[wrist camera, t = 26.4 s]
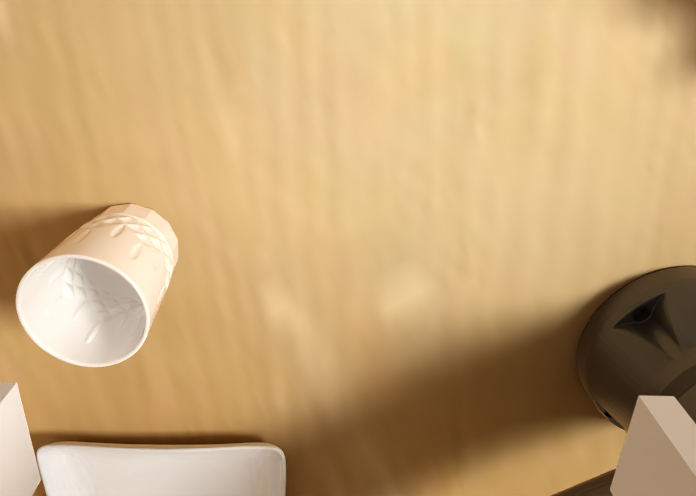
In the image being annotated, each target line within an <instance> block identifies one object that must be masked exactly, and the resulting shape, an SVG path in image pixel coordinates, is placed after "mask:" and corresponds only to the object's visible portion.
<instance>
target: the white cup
mask: <svg viewBox="0 0 696 496" xmlns="http://www.w3.org/2000/svg"><path fill="white" fill-rule="evenodd" d="M177 261H178V239H177V237H176V235H175V233H174V232H173V230H172V228H171V226H170V224H169V223H168V222H167V221H166V220H165V219H163V218H162V217H161V216H160V215H159V214H157V213H156V212H155V211H154V210H152V209H149V208H145V207H142V206H139V205H135V204H124V205H115V206H111V207H109V208H108V209H106V210H105V211H103V212H102V213H100V214H99V215H97V216H96V217H94V218H93V219H92V220H91V221H88V222H87V223H85V224H84V225H83V226H81V227H80V228H79V229H77V230H76V231H75V232H73V233H72V234H71V235H70V236H68V237H67V238H66V239H65V240H64V241H62V242H61V243H60V244H59V245H58V246H56V247H55V248H54V249H53V250H52V251H50V252H49V253H48V254H47V255H46V256H45V257H43V258H42V259H41V260H40V261H38V262H37V263H36V264H35V265H34V266H32V267H31V268H30V269H29V270H28V271H27V272H26V273H25V274H24V276H23V277H22V279H21V281H20V283H19V285H18V288H17V292H16V311H17V315H18V318H19V320H20V323H21V325H22V327H23V328H24V330H25V331H26V333H27V334H28V336H29V337H30V338H31V339H32V340H33V341H34V342H35V343H36V344H37V345H38V346H39V347H40V348H41V349H43V350H44V351H45V352H47V353H48V354H50V355H52V356H54V357H55V358H57V359H60V360H62V361H64V362H67V363H70V364H74V365H78V366H84V367H104V366H110V365H114V364H117V363H120V362H122V361H124V360H126V359H128V358H129V357H131V356H132V355H133V354H135V353H136V352H137V351H138V350H139V348H140V347H141V346H142V345H143V343H144V341H145V339H146V337H147V335H148V332H149V330H150V328H151V325H152V323H153V321H154V318H155V316H156V314H157V312H158V309H159V307H160V305H161V303H162V300H163V298H164V296H165V293H166V290H167V288H168V285H169V283H170V279H171V275H172V272H173V269H174V267H175V265H176V263H177Z"/></svg>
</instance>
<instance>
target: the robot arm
mask: <svg viewBox="0 0 696 496" xmlns="http://www.w3.org/2000/svg"><path fill="white" fill-rule="evenodd" d="M577 369H578V374H579V378H580V380H581V383H582V385H583V387H584V388H585V390H586V392H587V394H588V395H589V397H590V399H591V400H592V402H593V403H594V405H595V406H596V408H597V409H598V410H599V411H600V412H601V413H602V414H603V416H605V417H606V418H607V419H608V420H609V421H611V422H612V423H613V424H615V425H616V426H618V427H620V428H621V429H623V430H625V431H626V432H627V435H626V438H625V442H624V445H623V448H622V451H621V455H620V458H619V461H618V464H617V468H616V469H613V470H611V471H609V472H606V473H604V474H601V475H599V476H597V477H594V478H592V479H589V480H587V481H585V482H582V483H580V484H577V485H575V486H573V487H570V488H568V489H565V490H563V491H561V492H558V493H556V494H553V495H551V496H696V266H685V267H675V268H669V269H665V270H661V271H657V272H654V273H651V274H649V275H646V276H644V277H641V278H639V279H637V280H635V281H633V282H631V283H630V284H628V285H626V286H625V287H623V288H622V289H620V290H619V291H617V292H616V293H615V294H613V295H612V296H611V297H610V298H609V299H608V300H607V301H605V302H604V303H603V304H602V305H601V307H600V308H599V309H598V310H597V311H596V312H595V314H594V315H593V316H592V318H591V319H590V321H589V322H588V324H587V326H586V328H585V330H584V332H583V334H582V337H581V339H580V343H579V346H578V352H577ZM40 481H41V478H40V474H39V470H38V466H37V462H36V458H35V454H34V450H33V446H32V442H31V438H30V434H29V430H28V426H27V422H26V418H25V414H24V410H23V406H22V402H21V398H20V394H19V390H18V386H17V382H0V496H32V495H33V493H34V492H35V490H36V488H37V486H38V485H39V483H40Z"/></svg>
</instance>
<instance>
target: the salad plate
mask: <svg viewBox="0 0 696 496" xmlns="http://www.w3.org/2000/svg"><path fill="white" fill-rule="evenodd" d="M36 457H37V462H38V467H39V470H40V474H41V478H42V481H43V485H44V488H45V492H46V495H47V496H286V460H285V455H284V452H283V451H282V450H281V449H280V448H279V447H277V446H275V445H273V444H270V443H263V442H256V443H232V444H206V445H148V444H114V443H93V442H75V441H64V442H55V443H50V444H47V445H44V446H41V447H40V448H39V449H38V450H37V453H36Z"/></svg>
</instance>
